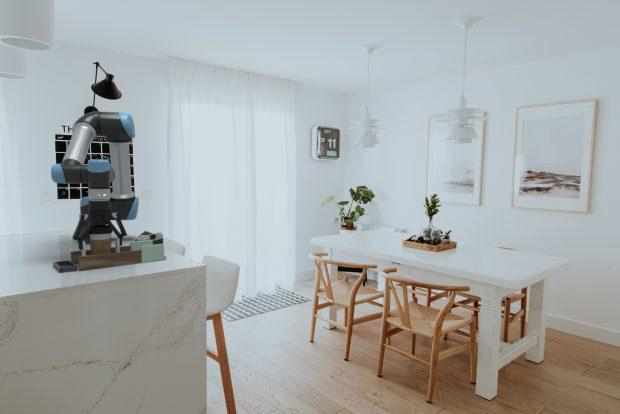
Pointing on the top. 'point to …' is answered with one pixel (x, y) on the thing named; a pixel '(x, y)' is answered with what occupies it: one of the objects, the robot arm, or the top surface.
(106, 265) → the channel
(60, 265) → the tray
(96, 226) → the coffee cup
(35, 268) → the top surface
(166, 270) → the top surface
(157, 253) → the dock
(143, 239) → the camera
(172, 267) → the top surface
